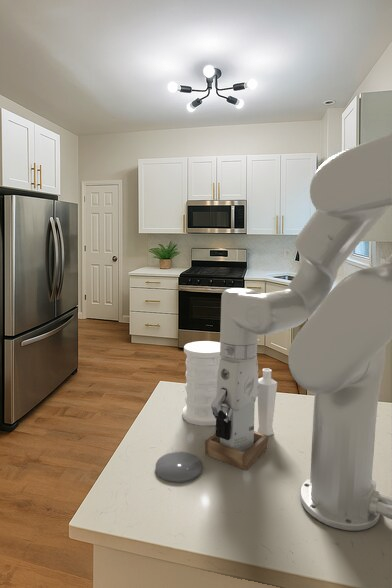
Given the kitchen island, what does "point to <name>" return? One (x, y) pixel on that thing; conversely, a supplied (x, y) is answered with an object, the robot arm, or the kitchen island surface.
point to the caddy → (237, 451)
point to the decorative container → (201, 381)
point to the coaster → (178, 467)
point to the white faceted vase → (266, 402)
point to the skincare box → (241, 427)
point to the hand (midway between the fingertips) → (235, 428)
